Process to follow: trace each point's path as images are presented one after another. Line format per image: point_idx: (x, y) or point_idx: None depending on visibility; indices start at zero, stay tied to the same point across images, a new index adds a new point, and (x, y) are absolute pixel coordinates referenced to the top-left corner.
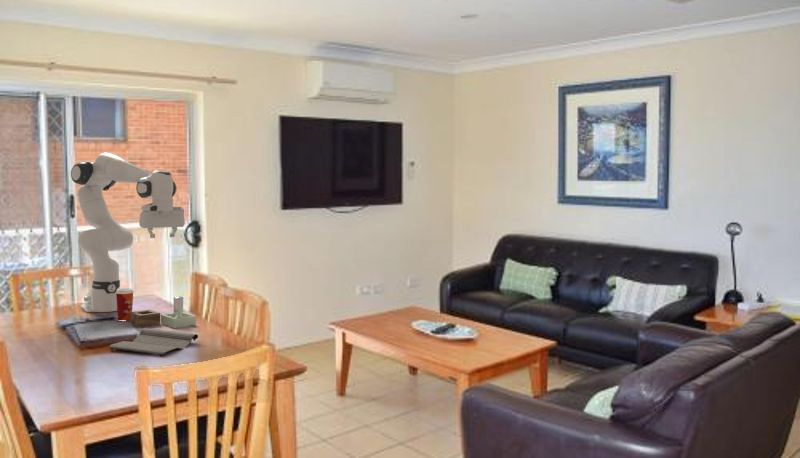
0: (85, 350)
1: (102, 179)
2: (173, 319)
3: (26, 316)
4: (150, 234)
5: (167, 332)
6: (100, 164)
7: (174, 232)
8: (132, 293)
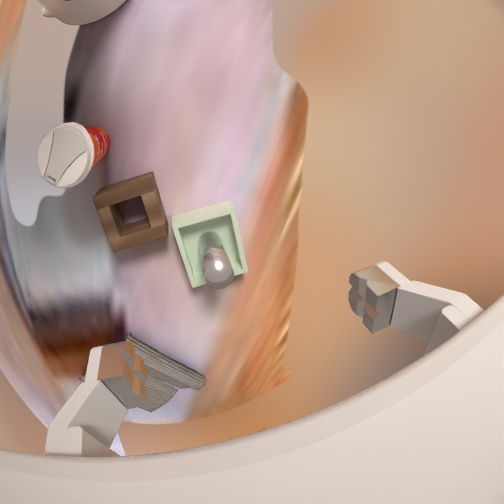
0: (49, 358)
1: None
2: (190, 281)
3: None
4: (91, 384)
5: (160, 372)
6: None
7: (404, 328)
8: (88, 169)
